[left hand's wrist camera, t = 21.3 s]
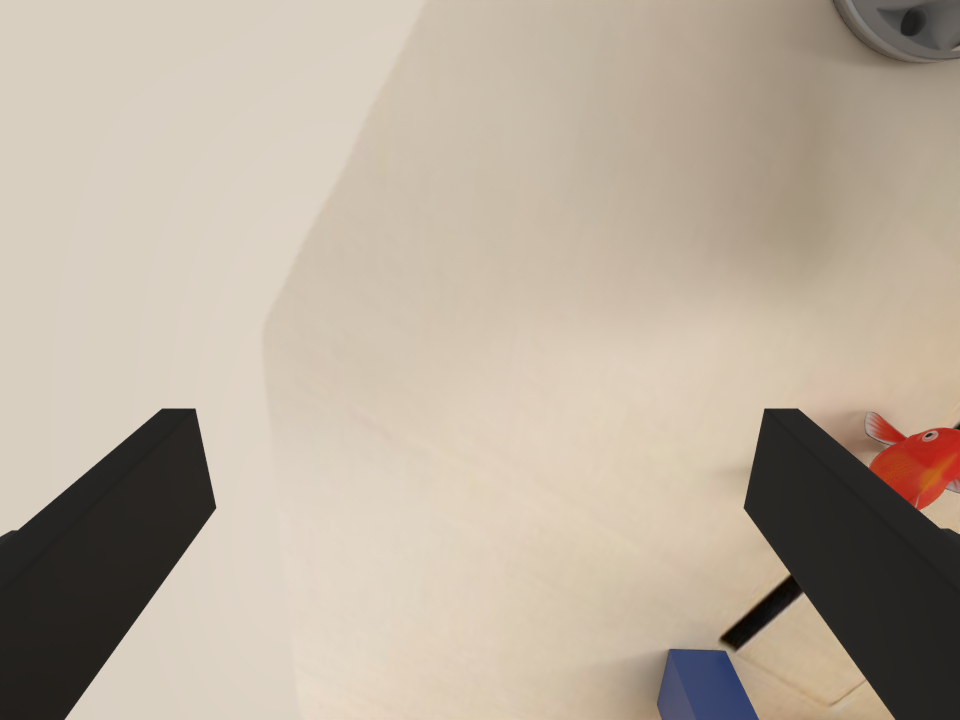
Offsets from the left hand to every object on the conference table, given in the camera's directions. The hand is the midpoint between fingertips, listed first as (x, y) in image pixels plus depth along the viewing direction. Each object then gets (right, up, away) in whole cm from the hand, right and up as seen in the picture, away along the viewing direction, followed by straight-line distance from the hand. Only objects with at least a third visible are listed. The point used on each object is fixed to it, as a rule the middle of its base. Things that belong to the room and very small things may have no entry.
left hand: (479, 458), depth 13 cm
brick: (+20, -28, +40) cm, 53 cm away
